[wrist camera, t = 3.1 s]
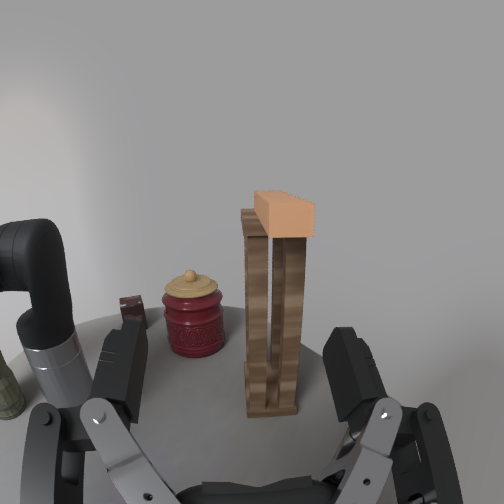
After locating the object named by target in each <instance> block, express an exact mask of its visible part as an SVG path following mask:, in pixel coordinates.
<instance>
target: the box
mask: <svg viewBox="0 0 504 504" xmlns="http://www.w3.org/2000/svg"><path fill="white" fill-rule="evenodd" d="M120 310H121V314H122V319H123V321H124V319H125V318H133V319H142V320H143V321H144V325H145V329H147V323H146V317H145V312H144V306H143V302H142V299H141V295H138V296H132V297H125V298H120Z"/></svg>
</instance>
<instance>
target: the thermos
mask: <svg viewBox="0 0 504 504" xmlns="http://www.w3.org/2000/svg"><path fill="white" fill-rule="evenodd" d="M25 406H26V400H25V397H24V396H23V394H22V392H21V389H20V386H19V384H18V382H17V380H16V378H15V376H14V374H13V372H12V371H11V369H10V368H9V367H8V366H7V365H6V362H5V360H4V358H3V356H2V353H1V351H0V419H2V420H11V419H14V418H16V417H17V416H19V415H20V414H21V413H22V412H23V411H24V409H25Z"/></svg>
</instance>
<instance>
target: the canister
mask: <svg viewBox="0 0 504 504" xmlns="http://www.w3.org/2000/svg"><path fill="white" fill-rule="evenodd" d="M217 288H218V284H217V282H216V281H214V280H212V279H210V278H209V277H207V276H204V275H199V274H196V273H195V272H194V271H193V270H187V271H186V272H185V274H184V275H183V276H179V277H176V278H174V279H173V280H172V281H171V282H169V283H168V284H167V285H166V286H165V291H166V293H165V294H164V295H163V297H162V302H163V304H164V305H165V307H166V309H165V311H164V316H165V318H166V325H167V331H168V342H169V344H170V347H171V349H172V350H173V351H174V352H175V353H177V354H179V355H181V356H185V357H191V358H197V357H205V356H208V355H211V354H213V353H215V352H217V351H218V350H220V349H221V347H222V346H223V344H224V339H225V333H224V330H223V307H222V305H221V304H220V301H221V300H222V293H221V291H220V290H218V289H217Z"/></svg>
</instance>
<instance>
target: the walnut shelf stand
mask: <svg viewBox="0 0 504 504" xmlns="http://www.w3.org/2000/svg"><path fill="white" fill-rule="evenodd" d="M241 222H242V229H243V236H244V239H245V241H244V244H245V297H246V299H245V301H246V302H245V303H246V352H247V362H244V372H245V388H246V404H247V418H258V417H274V416H286V415H296V414H297V405H296V402H295V392H296V382H297V373H298V362H299V352H300V340H301V328H302V314H303V299H304V282H305V263H306V238H307V237H284V238H273V255H272V256H273V257H272V316H271V318H272V319H271V354H270V361H267V314H268V313H267V312H268V310H267V309H268V235H267V233H266V231H265V229H264V227H263V226H262V224H261V222H260V220H259V218H258V216H257V215H256V213H255V211H254V209H241Z"/></svg>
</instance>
